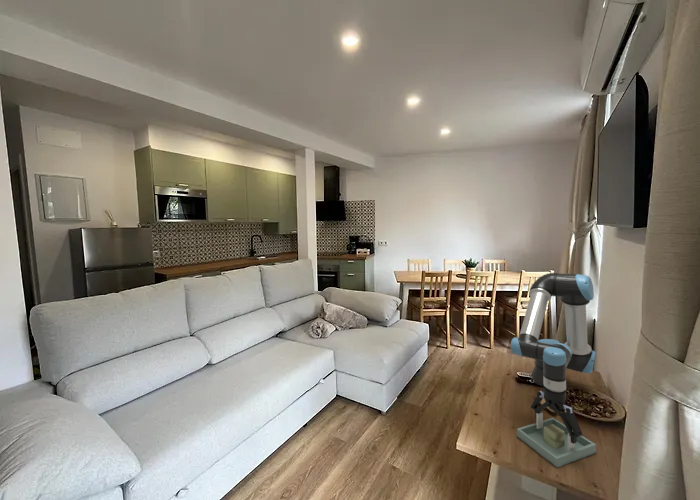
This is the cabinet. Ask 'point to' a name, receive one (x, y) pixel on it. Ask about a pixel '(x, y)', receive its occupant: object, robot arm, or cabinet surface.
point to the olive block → (554, 436)
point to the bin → (554, 456)
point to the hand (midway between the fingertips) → (554, 438)
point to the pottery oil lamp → (544, 402)
